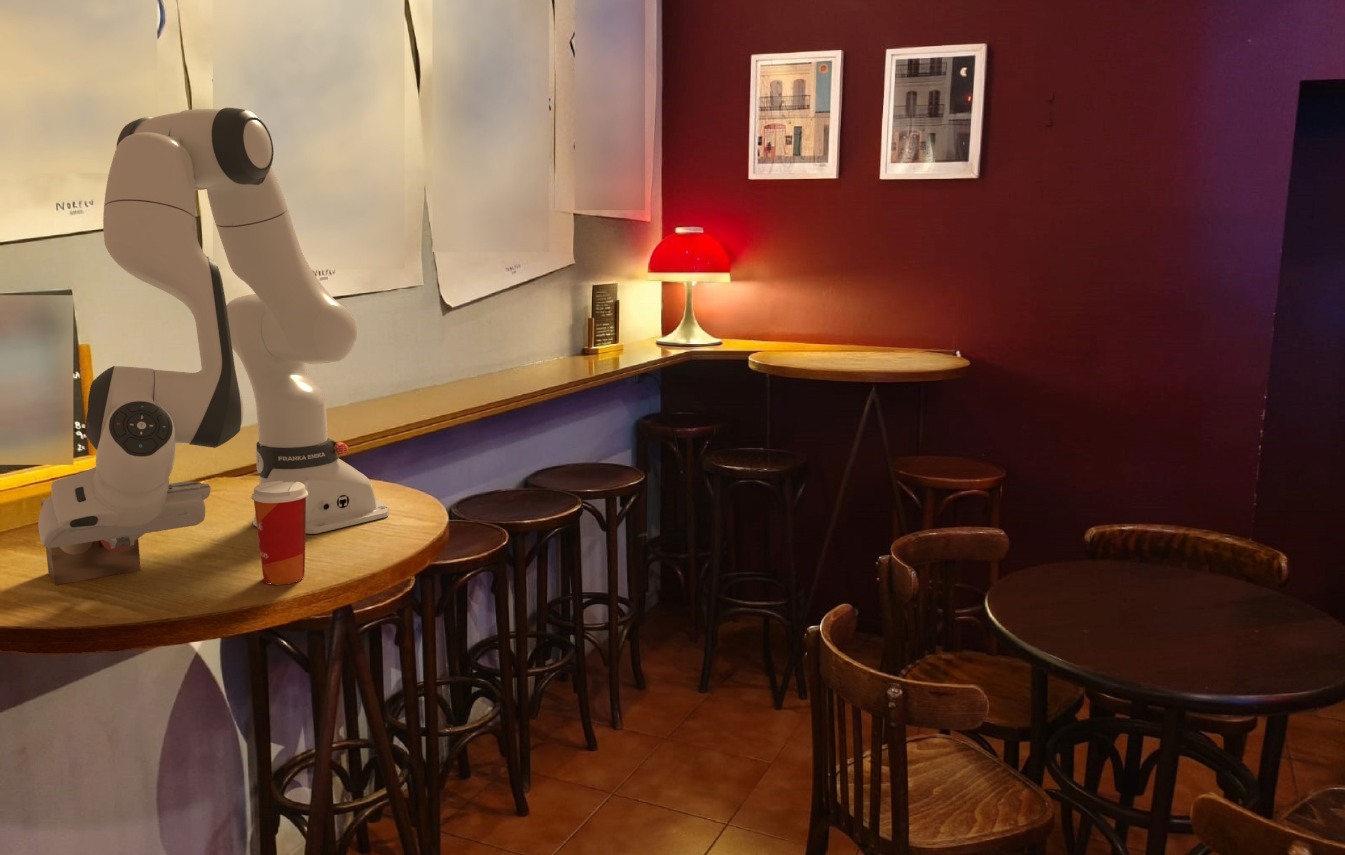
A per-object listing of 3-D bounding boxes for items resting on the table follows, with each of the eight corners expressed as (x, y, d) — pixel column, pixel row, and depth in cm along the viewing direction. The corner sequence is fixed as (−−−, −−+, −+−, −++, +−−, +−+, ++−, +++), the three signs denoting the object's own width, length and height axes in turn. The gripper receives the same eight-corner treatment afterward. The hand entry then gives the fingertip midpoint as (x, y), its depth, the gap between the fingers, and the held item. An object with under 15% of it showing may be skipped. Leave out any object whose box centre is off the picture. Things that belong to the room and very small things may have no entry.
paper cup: (272, 567, 151) (267, 478, 148) (321, 571, 150) (317, 481, 147) (245, 586, 143) (239, 492, 140) (296, 590, 142) (292, 495, 140)
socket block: (132, 558, 153) (126, 489, 150) (142, 572, 147) (136, 500, 145) (48, 572, 146) (41, 500, 144) (55, 587, 141) (48, 512, 138)
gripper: (207, 462, 141) (194, 512, 150) (37, 483, 128) (34, 536, 138) (218, 500, 138) (204, 548, 148) (46, 525, 126) (42, 576, 135)
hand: (121, 542), depth 143 cm, fingers closed, pressing on red plug
